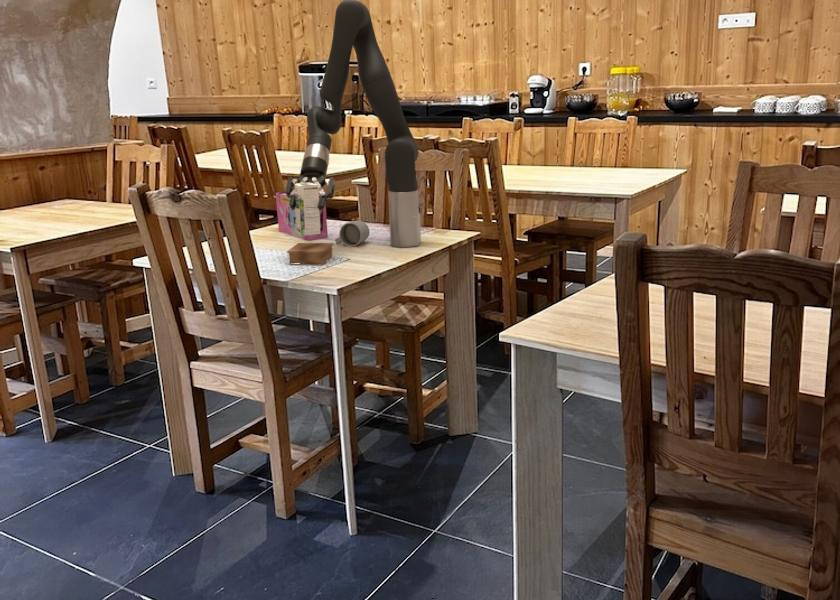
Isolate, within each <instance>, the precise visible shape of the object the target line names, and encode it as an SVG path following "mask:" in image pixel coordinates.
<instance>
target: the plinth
mask: <svg viewBox="0 0 840 600" xmlns="http://www.w3.org/2000/svg"><path fill="white" fill-rule="evenodd" d="M333 246H334V242H333V243H332V242H298V243H296V244H295V245H293V246H292V247H291V248H289V249H288V250H287V251H286V253H287V254H289V255H288V256H289V264H290V263H300V264H299V265H316V264H323V265H325V264H324V263H325V262H326V261H327V260H328V261H329V260H330V259H331V258H333V257H332V256H333ZM328 261H327V262H328ZM327 262H326V263H327Z"/></svg>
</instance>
